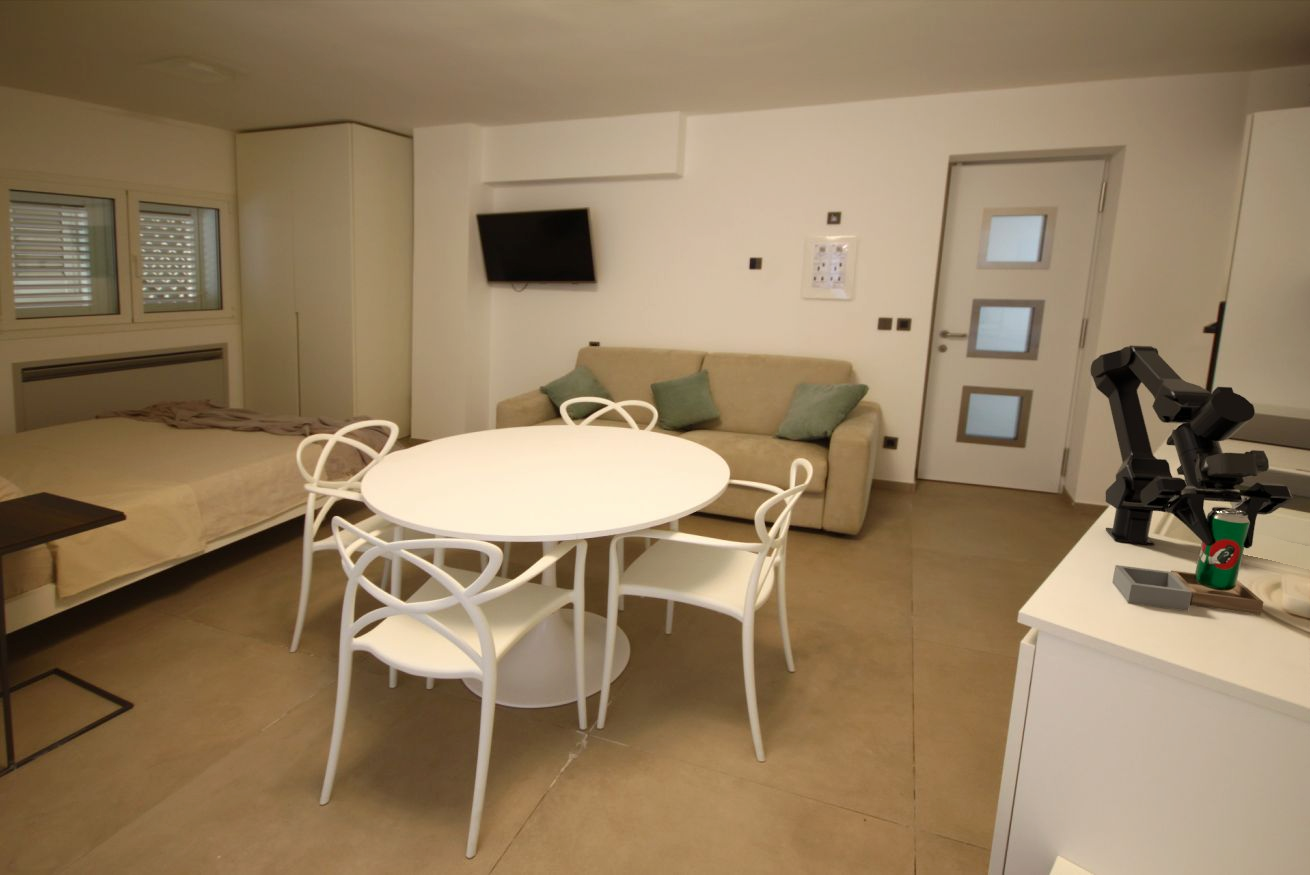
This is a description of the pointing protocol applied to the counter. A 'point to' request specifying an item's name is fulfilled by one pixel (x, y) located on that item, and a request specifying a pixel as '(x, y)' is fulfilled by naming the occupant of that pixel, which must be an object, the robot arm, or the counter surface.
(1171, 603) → the box
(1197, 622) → the counter surface
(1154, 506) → the robot arm
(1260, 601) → the walnut tray
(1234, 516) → the soda can
